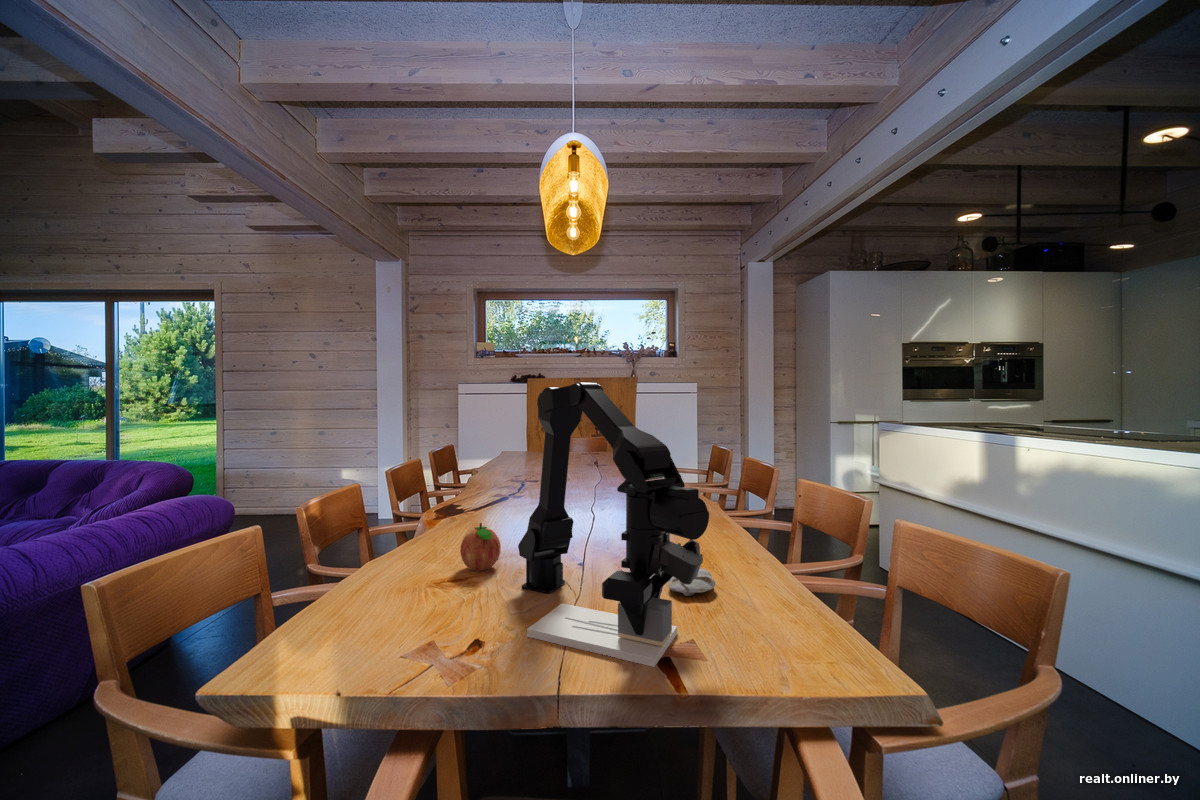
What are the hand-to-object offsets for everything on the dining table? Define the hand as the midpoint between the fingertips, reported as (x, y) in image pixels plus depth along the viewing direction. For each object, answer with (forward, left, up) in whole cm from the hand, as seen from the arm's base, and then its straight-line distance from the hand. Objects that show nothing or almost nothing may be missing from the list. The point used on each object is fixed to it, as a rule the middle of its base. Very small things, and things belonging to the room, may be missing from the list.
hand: (645, 627), depth 77 cm
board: (-7, 0, -3) cm, 8 cm away
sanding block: (0, 0, -1) cm, 1 cm away
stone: (0, +26, -3) cm, 26 cm away
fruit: (-45, +17, -3) cm, 48 cm away
